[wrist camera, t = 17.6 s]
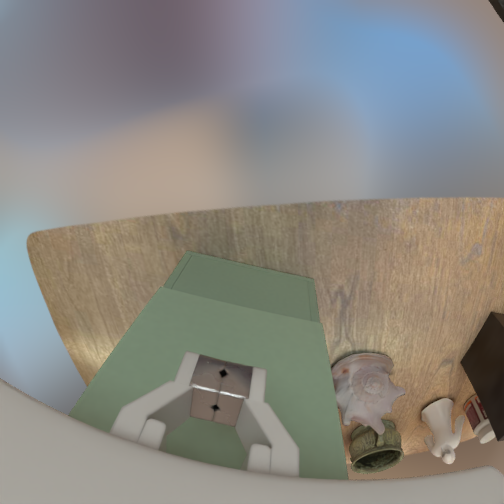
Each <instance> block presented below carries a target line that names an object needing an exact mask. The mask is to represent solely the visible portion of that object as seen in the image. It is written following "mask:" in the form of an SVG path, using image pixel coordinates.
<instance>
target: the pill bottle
mask: <svg viewBox="0 0 504 504" xmlns="http://www.w3.org/2000/svg"><path fill="white" fill-rule="evenodd" d="M464 410H465V412H466V415H467V417H468V419H469V422H470V424H471V427H472V429H473V432H474V434H475V435H478V439H479V441H480V443H486V442H488V441H490V440H492V439H493V438H495V437H496V436H495V434H494V431H493V429H492V427H491V424H490V422H489V420H488V417H487V415H486V413H485V411H484V409H483V406H482V404H481V402H480V400H479V398H478V396H477V394H476V395H474V396H472V397H471V398H470V399H468V401H467V402H466V403H465V405H464Z"/></svg>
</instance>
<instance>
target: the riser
mask: <svg viewBox="0 0 504 504" xmlns="http://www.w3.org/2000/svg"><path fill="white" fill-rule="evenodd" d="M461 364H462V366H463V368H464V370H465V372H466V374H467V376H468V378H469V380H470V382H471V384H472V386H473V388H474V390H475V392H476V394H477V396H478V398H479V400H480V402H481V404H482V406H483V409H484V411H485V413H486V415H487V417H488V420H489V422H490V424H491V427H492V429H493V431H494V434H495V436H496V438H497V441H503V440H504V314H500V313H495V312H491V314H490V315H489V317H488V319H487V321H486V322H485V324H484V326H483V328H482V329H481V331H480V333H479V334H478V336H477V338H476V339H475V341H474V342H473V344H472V346H471V347H470V349H469V350H468V352H467V353H466V355H465V356H464V358H463V359H462V361H461Z"/></svg>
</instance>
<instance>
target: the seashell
mask: <svg viewBox="0 0 504 504" xmlns="http://www.w3.org/2000/svg"><path fill="white" fill-rule="evenodd" d="M392 368H393V362H392V360H391V359H390V358H389V357H388V356H385V355H381V354H375V353H361V354H353V355H350V356H348V357H346V358H344V359H342V360H340V361H338V362H337V363H336V364H335V365H334V366H333V367H332V368H331V372H332V378H333V383H334V389H335V395H336V400H337V406H338V409H340V411H341V414H342V422H343V425H345V426H348V425H349V424H350V421H356V422H359V423H361V424H363V425H364V426H368V425H370V426H371V427H372V428H373V429H374V430H375V431H376V432H377V433H378V434H379V435H381V434H383V433H384V431H385V426H384V424H383V422H382V420H381V417H382V416H383V415H384V414H386V413H391V412H392V405H393V403H394V401H395V400H396V399H397V398H398V397H400V396H402V395H405V393H406V392H405V390H404V389H403V388H402V387H398V386H395V385H394V384H393V383H392V382H391V380H390V378H389V375H390V373H391V371H392Z"/></svg>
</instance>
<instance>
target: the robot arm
mask: <svg viewBox="0 0 504 504" xmlns="http://www.w3.org/2000/svg"><path fill="white" fill-rule="evenodd" d="M266 378H267V369H264V368H259V367H254V366H248V365H243V364H239V363H234V362H229V361H224V360H220V359H216V358H213V357H209V356H205V355H202V354H197V353H193V352H190V351H186V352H185V354H184V357H183V359H182V362H181V364H180V367H179V369H178V372H177V374H176V377H175V379H174V381H168V382H166V383H164V384H163V385H161V386H159V387H157V388H156V389H154V390H152V391H150V392H149V393H147V394H145V395H143V396H141V397H140V398H138V399H136V400H134V401H132V402H131V403H129V404H127V405H125V406H123V407H122V408H121V410H120V412H119V414H118V416H117V418H116V420H115V422H114V424H113V426H112V428H111V430H110V432H109V433H107V432H105V431H102V430H100V429H97V428H95V427H93V426H90V425H88V424H86V423H83V422H81V421H79V420H77V419H74V418H72V417H70V416H68V415H66V414H64V413H62V412H59V411H57V410H56V409H54V408H52V407H50V406H48V405H46V404H44V403H42V402H40V401H38V400H36V399H34V398H33V397H31V396H29V395H27V394H25V393H24V392H22V391H20V390H18V389H17V388H15V387H13V386H11V385H10V384H8V383H7V382H5V381H4V380H2V379H0V504H504V475H503V474H502V473H501V472H500V471H498V470H497V469H496V468H494V467H493V466H489V465H487V466H482V467H476V468H472V469H467V470H461V471H456V472H450V473H443V474H436V475H429V476H419V477H409V478H396V479H375V480H374V479H373V480H337V479H315V478H301V477H299V447H298V446H297V445H296V443H295V442H294V440H293V439H292V437H291V436H290V434H289V433H288V432H287V430H286V429H285V427H284V426H283V424H282V423H281V421H280V420H279V418H278V417H277V415H276V414H275V412H274V411H273V409H272V408H271V406H270V405H269V403H266V402H264V401H265V390H266ZM190 417H193V418H198V419H202V420H207V421H213V422H216V423H220V424H224V425H228V426H232V427H235V430H236V432H237V434H238V436H239V438H240V440H241V443H242V445H243V447H244V449H245V451H246V453H247V455H246V457H245V460H244V462H243V464H242V466H241V468H240V470H239V469H233V468H228V467H223V466H218V465H213V464H209V463H204V462H200V461H196V460H192V459H188V458H184V457H180V456H177V455H173V454H169V453H166V436H167V435H169V434H170V433H171V432H172V431H174V430H175V429H176V428H178V427H179V426H180V425H181V424H183V423H184V422H185V421H186V420H188V419H189V418H190Z"/></svg>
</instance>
